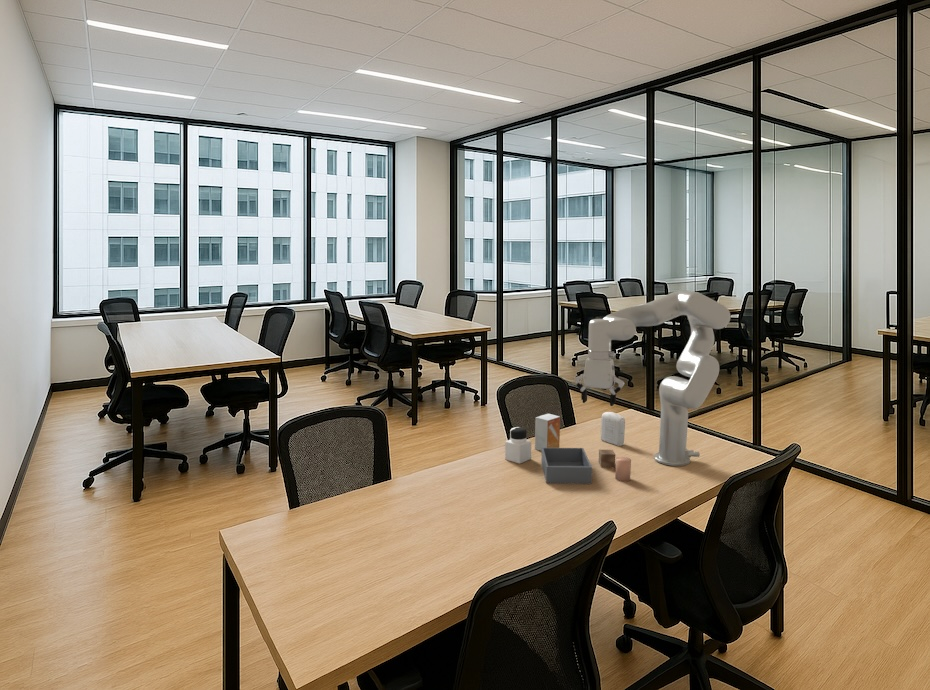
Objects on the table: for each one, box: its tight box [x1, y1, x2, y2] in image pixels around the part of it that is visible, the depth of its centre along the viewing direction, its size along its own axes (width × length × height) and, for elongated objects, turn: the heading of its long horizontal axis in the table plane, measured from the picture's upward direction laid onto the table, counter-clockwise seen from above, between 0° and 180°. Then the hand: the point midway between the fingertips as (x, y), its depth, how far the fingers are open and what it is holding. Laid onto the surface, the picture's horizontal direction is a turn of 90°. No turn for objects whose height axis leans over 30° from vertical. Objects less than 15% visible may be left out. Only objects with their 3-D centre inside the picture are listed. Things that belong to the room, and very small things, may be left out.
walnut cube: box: [598, 449, 616, 468], centre depth 221 cm, size 5×5×5 cm
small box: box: [534, 413, 561, 452], centre depth 237 cm, size 8×6×13 cm
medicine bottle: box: [504, 426, 532, 464], centre depth 226 cm, size 7×7×12 cm
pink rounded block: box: [614, 456, 632, 482], centre depth 207 cm, size 5×5×7 cm
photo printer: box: [600, 411, 626, 447], centre depth 244 cm, size 10×4×12 cm, turn 36°
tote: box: [540, 447, 593, 485], centre depth 213 cm, size 15×19×6 cm
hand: (598, 403), depth 210 cm, fingers open, 9 cm apart
